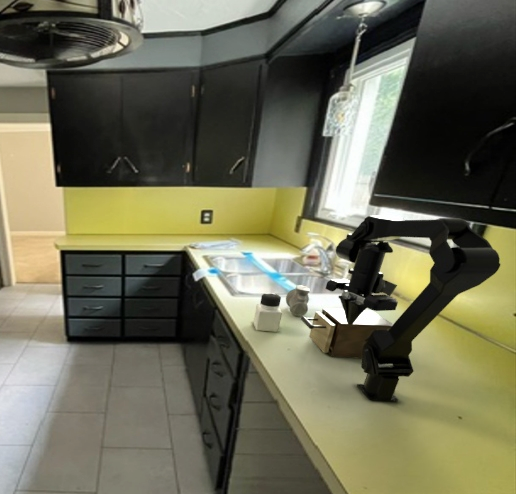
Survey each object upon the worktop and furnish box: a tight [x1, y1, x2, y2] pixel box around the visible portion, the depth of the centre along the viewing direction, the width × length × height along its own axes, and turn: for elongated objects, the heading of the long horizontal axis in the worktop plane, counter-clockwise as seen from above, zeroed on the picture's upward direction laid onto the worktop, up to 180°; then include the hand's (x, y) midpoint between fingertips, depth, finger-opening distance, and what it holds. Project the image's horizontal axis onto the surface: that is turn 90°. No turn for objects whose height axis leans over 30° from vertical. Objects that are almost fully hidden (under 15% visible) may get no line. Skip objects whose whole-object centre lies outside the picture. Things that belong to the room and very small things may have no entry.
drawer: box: [300, 310, 339, 354], centre depth 110 cm, size 18×11×9 cm, turn 84°
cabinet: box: [321, 307, 394, 359], centre depth 110 cm, size 15×13×11 cm
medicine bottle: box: [253, 292, 283, 333], centre depth 124 cm, size 7×7×12 cm
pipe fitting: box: [285, 284, 311, 318], centre depth 139 cm, size 12×8×10 cm
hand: (349, 323), depth 99 cm, fingers closed
